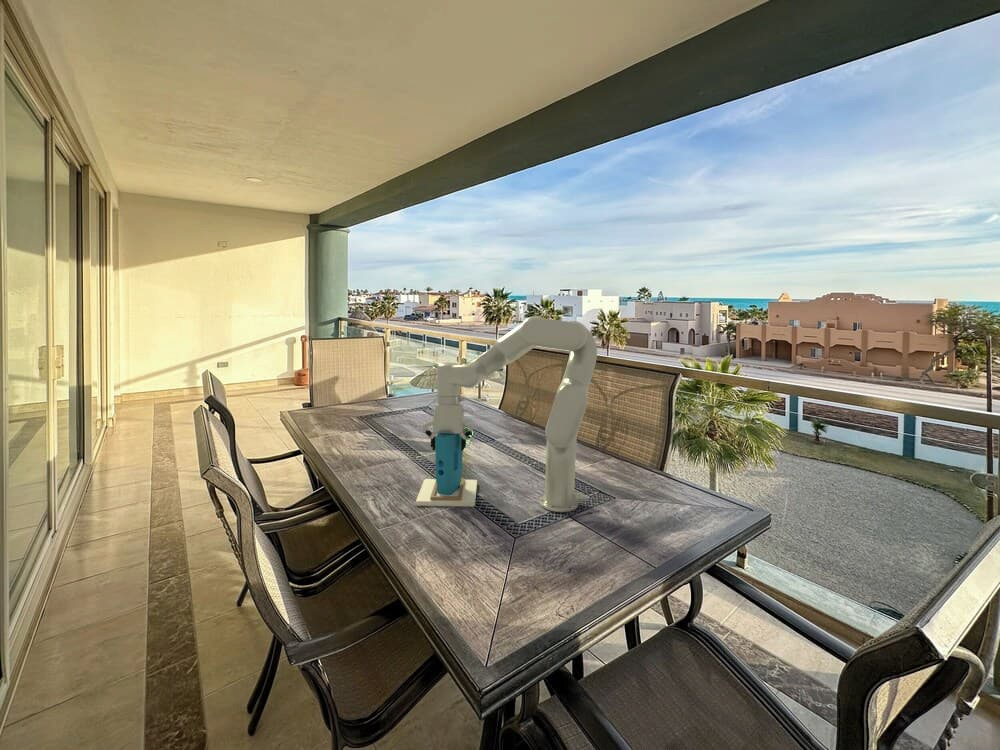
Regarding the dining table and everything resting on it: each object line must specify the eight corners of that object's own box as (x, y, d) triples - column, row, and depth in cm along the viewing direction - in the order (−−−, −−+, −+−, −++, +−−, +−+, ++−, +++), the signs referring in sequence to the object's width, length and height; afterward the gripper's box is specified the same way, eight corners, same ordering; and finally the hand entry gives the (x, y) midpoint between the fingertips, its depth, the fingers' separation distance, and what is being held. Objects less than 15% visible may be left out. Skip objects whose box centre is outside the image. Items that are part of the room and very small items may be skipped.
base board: (477, 483, 167) (477, 477, 167) (474, 506, 148) (474, 499, 148) (424, 482, 167) (424, 476, 166) (415, 505, 148) (415, 498, 148)
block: (447, 497, 151) (448, 438, 148) (434, 495, 153) (434, 437, 150) (463, 484, 162) (463, 429, 159) (450, 482, 164) (450, 428, 161)
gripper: (475, 398, 156) (474, 446, 159) (424, 397, 156) (424, 445, 159) (474, 402, 149) (473, 453, 152) (420, 401, 149) (421, 452, 151)
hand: (448, 449), depth 155 cm, fingers open, 9 cm apart
